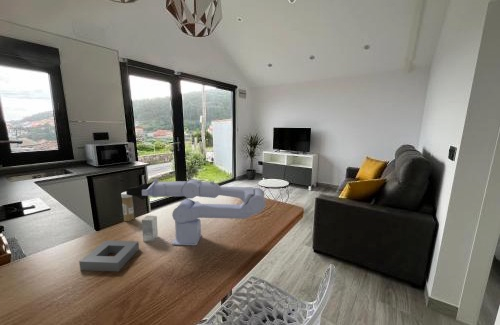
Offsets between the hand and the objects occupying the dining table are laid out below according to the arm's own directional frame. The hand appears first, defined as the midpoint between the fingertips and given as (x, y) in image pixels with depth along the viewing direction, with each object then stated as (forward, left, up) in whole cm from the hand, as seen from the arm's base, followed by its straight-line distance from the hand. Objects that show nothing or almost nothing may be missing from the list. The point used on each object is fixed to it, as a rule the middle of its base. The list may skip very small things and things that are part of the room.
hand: (133, 189), depth 81 cm
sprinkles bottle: (+12, -16, -21) cm, 29 cm away
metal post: (-6, 0, -20) cm, 21 cm away
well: (+1, +13, -20) cm, 24 cm away
